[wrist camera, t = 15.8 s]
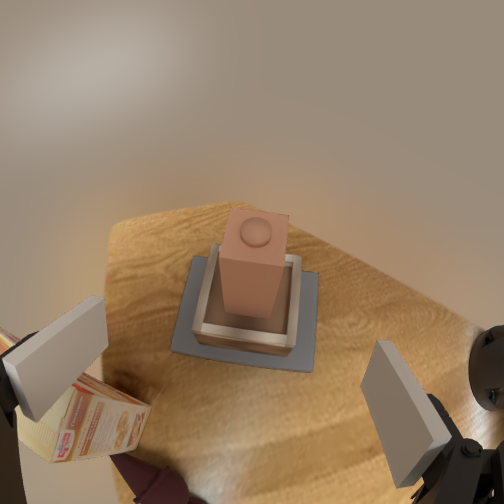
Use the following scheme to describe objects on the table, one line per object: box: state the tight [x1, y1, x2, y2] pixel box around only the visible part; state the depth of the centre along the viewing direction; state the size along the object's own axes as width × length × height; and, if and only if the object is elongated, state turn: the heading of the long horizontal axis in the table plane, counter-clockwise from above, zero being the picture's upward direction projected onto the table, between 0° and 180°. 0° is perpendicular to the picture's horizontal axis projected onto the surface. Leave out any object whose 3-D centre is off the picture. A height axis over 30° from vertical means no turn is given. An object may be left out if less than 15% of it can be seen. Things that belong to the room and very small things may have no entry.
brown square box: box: [192, 244, 302, 357], centre depth 35 cm, size 11×11×6 cm
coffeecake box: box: [0, 327, 152, 464], centre depth 23 cm, size 15×7×20 cm, turn 73°
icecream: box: [109, 453, 206, 504], centre depth 24 cm, size 7×7×15 cm
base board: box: [170, 256, 319, 373], centre depth 39 cm, size 18×14×2 cm
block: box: [219, 208, 289, 319], centre depth 28 cm, size 5×5×13 cm
